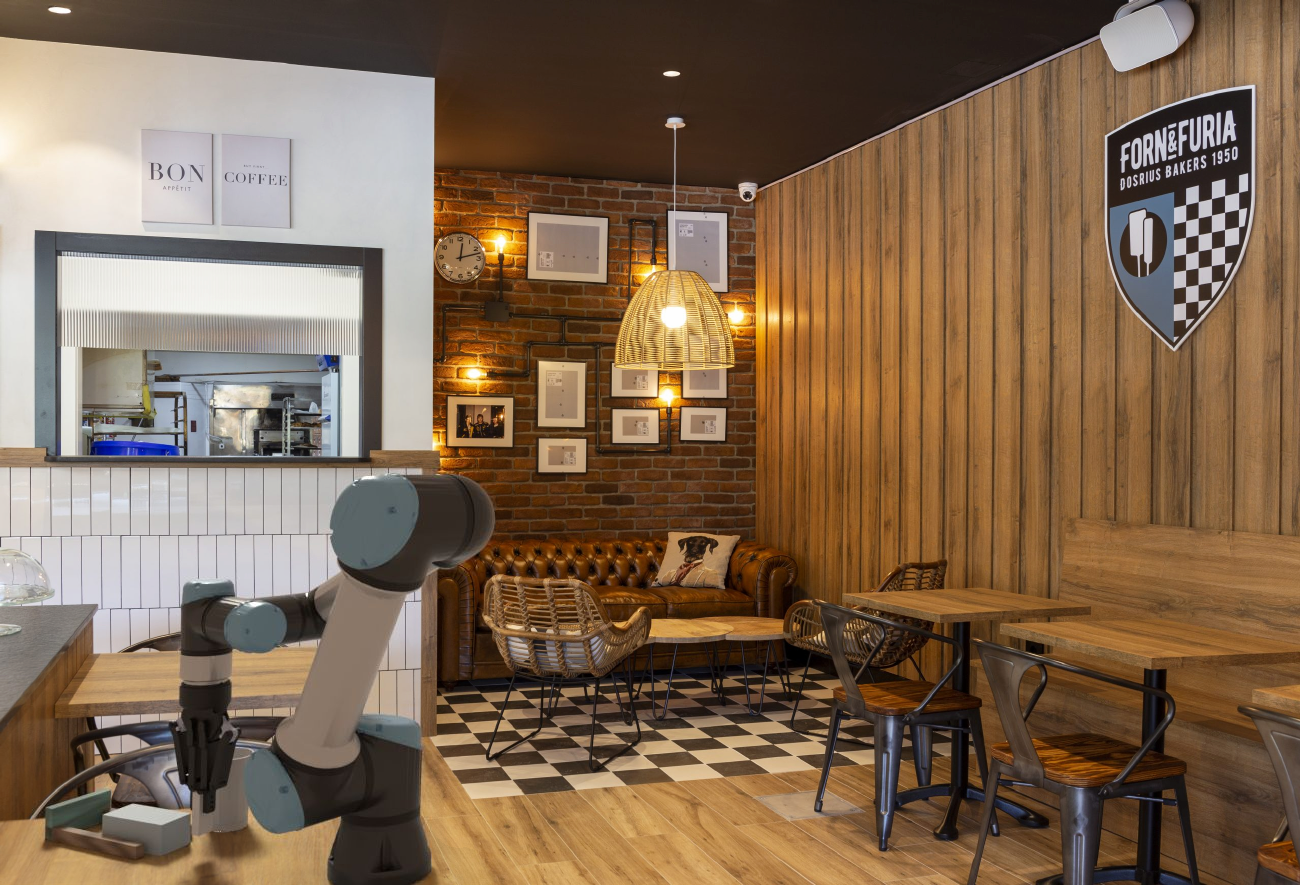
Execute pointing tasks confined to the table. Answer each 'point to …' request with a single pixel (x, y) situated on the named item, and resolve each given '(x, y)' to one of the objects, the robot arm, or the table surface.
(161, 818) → the block
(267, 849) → the table surface
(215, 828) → the cup
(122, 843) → the brown green u-shaped frame
